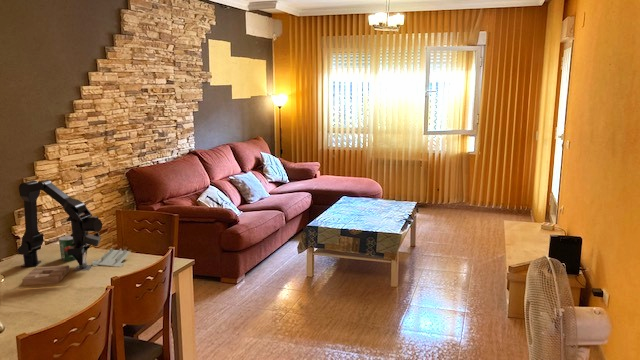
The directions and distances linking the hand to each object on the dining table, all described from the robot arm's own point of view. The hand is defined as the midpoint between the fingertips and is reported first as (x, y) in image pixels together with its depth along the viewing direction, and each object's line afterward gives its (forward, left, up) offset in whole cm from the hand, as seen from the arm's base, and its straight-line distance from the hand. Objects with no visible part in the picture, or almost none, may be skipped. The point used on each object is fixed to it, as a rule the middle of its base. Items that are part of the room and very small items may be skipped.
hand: (82, 263), depth 230 cm
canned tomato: (-14, -10, -3) cm, 18 cm away
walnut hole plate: (+10, -12, -2) cm, 16 cm away
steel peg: (0, 0, -2) cm, 2 cm away
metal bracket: (-6, +12, -3) cm, 14 cm away
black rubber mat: (0, 0, -2) cm, 2 cm away
